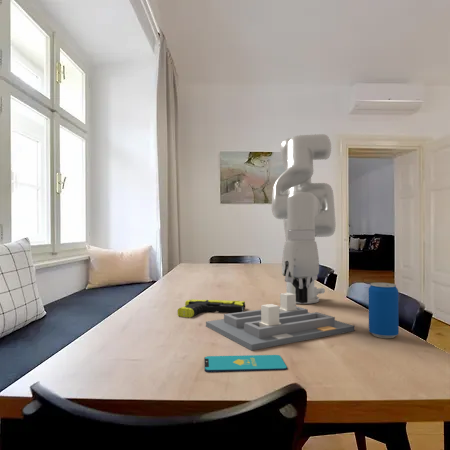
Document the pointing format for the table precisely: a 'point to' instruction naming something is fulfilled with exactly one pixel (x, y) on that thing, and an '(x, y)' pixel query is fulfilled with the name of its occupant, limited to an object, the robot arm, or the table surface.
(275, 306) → the tab
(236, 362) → the smartphone
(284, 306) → the tab
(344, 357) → the table surface
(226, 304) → the stun gun
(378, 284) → the beverage can
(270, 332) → the switch board
